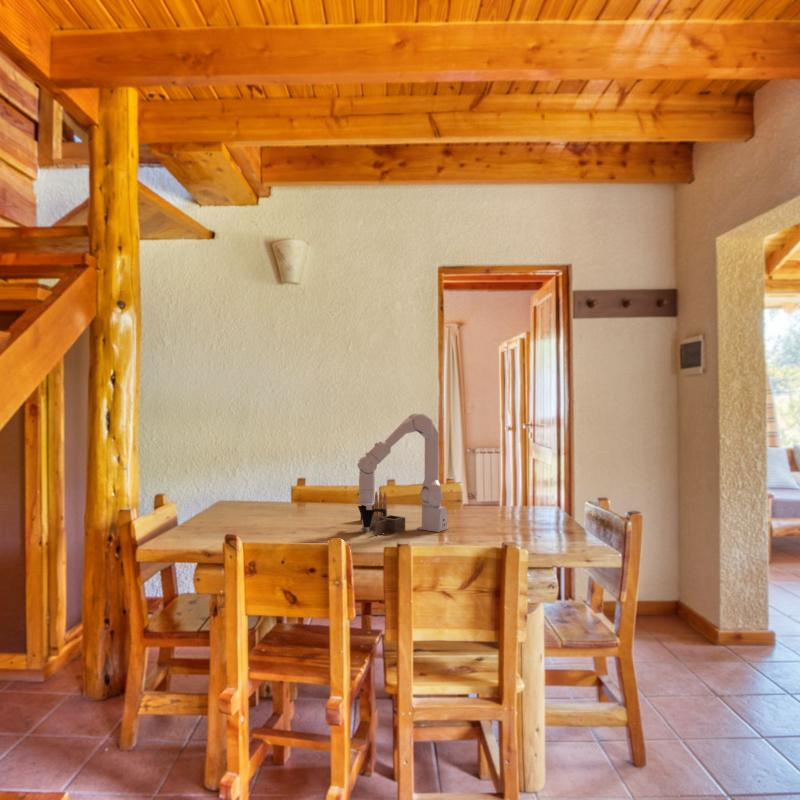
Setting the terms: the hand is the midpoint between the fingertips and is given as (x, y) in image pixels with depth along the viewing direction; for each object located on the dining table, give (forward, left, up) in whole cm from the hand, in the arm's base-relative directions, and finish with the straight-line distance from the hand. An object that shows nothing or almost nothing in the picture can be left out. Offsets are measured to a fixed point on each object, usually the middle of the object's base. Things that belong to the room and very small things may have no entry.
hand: (366, 526), depth 223 cm
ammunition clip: (+9, -18, -2) cm, 20 cm away
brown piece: (-3, -4, -2) cm, 5 cm away
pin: (0, 0, -2) cm, 2 cm away
